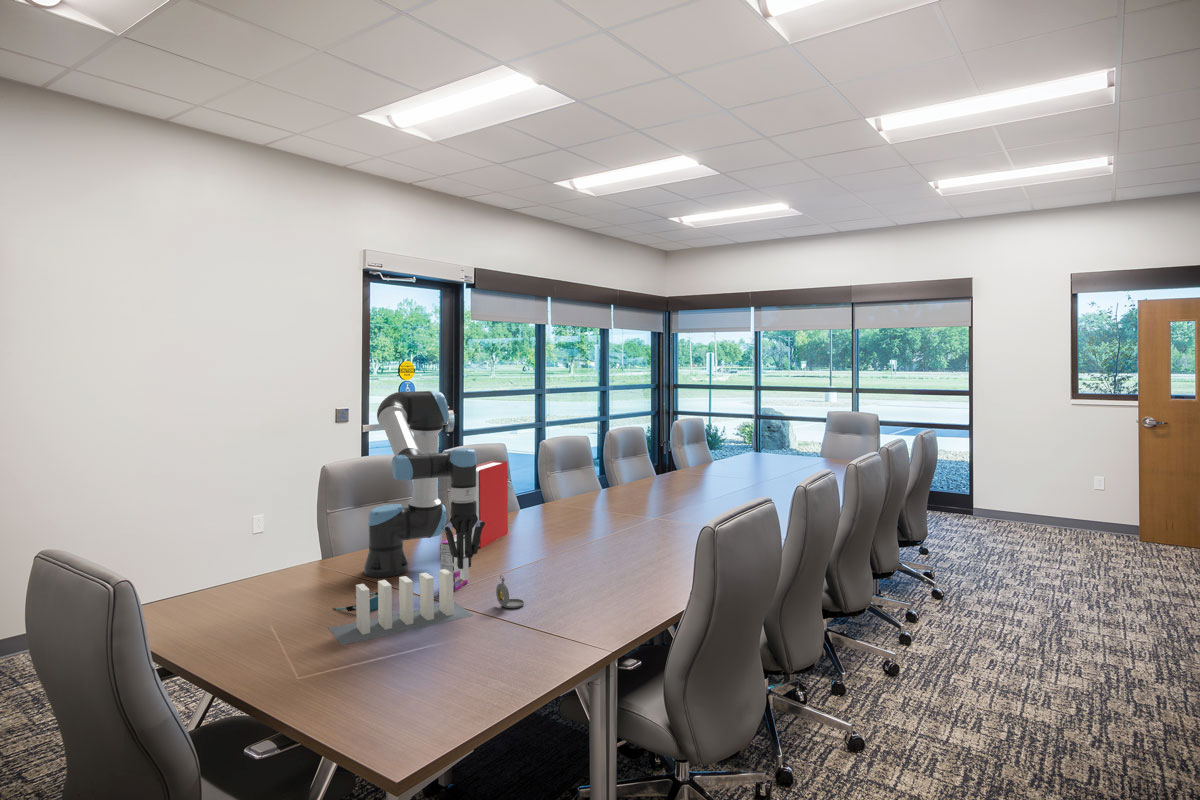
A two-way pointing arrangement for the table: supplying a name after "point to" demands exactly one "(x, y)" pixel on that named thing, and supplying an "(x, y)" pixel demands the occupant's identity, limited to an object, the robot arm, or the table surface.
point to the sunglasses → (372, 604)
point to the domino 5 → (446, 592)
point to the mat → (394, 625)
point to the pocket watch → (507, 596)
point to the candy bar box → (451, 563)
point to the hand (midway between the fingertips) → (464, 578)
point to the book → (492, 500)
